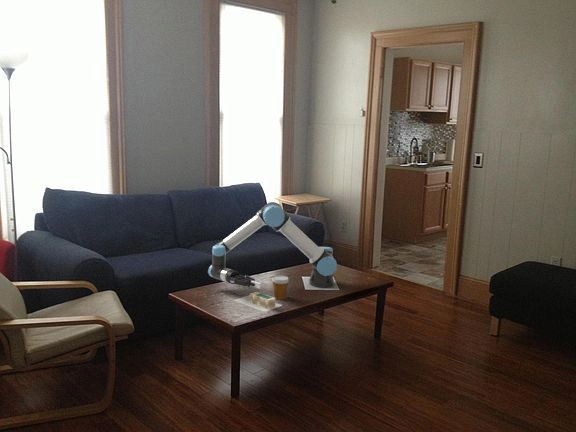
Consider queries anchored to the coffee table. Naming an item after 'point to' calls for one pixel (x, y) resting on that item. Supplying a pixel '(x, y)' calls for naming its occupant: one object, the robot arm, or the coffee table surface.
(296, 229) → the robot arm
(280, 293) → the disposable coffee cup
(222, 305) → the coffee table surface
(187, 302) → the coffee table surface
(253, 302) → the block
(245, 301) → the mat
